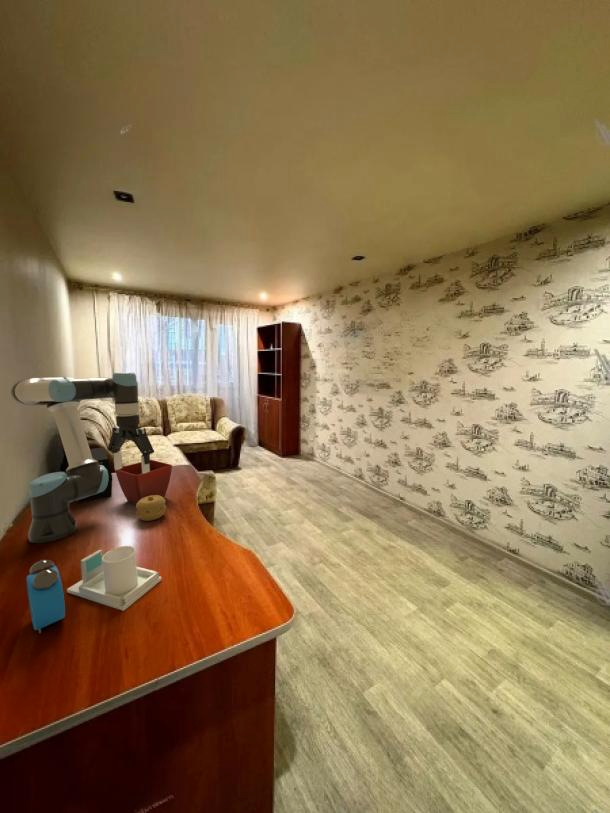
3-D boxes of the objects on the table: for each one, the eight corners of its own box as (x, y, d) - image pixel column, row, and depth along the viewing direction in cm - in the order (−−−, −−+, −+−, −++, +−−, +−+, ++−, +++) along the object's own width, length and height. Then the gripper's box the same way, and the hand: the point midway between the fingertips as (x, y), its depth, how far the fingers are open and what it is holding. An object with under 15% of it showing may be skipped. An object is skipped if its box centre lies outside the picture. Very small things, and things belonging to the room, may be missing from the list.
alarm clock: (30, 614, 83) (23, 560, 82) (59, 601, 88) (53, 551, 86) (36, 643, 74) (29, 584, 73) (68, 627, 79) (62, 571, 77)
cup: (110, 600, 86) (106, 566, 85) (98, 581, 95) (95, 549, 93) (142, 585, 92) (139, 553, 91) (128, 568, 100) (125, 538, 99)
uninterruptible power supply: (109, 479, 190) (106, 446, 187) (114, 496, 162) (111, 459, 160) (75, 485, 180) (72, 451, 178) (75, 505, 153) (70, 465, 151)
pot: (133, 517, 139) (132, 495, 137) (161, 509, 146) (160, 488, 145) (140, 527, 130) (139, 503, 129) (170, 518, 137) (168, 496, 136)
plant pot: (175, 496, 161) (173, 464, 159) (138, 510, 145) (135, 475, 143) (153, 489, 172) (151, 459, 170) (116, 502, 156) (113, 468, 154)
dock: (67, 592, 92) (64, 566, 91) (109, 565, 104) (107, 542, 103) (123, 610, 84) (121, 582, 83) (161, 579, 96) (159, 555, 95)
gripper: (162, 414, 115) (165, 470, 118) (112, 412, 124) (116, 464, 126) (145, 417, 108) (149, 477, 111) (93, 414, 117) (98, 470, 119)
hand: (132, 470), depth 118 cm, fingers open, 13 cm apart
